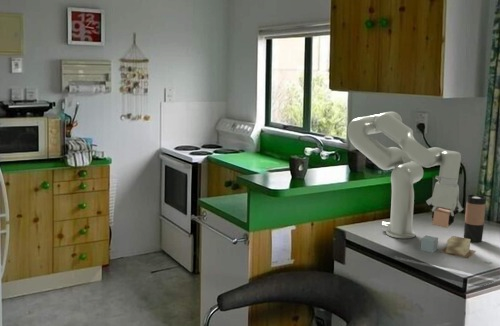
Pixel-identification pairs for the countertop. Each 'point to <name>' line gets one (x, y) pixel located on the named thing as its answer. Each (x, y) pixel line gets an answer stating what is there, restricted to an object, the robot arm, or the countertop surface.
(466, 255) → the walnut board
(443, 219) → the terracotta block
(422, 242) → the slate block
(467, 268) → the countertop surface
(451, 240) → the beech base block
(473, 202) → the travel mug
